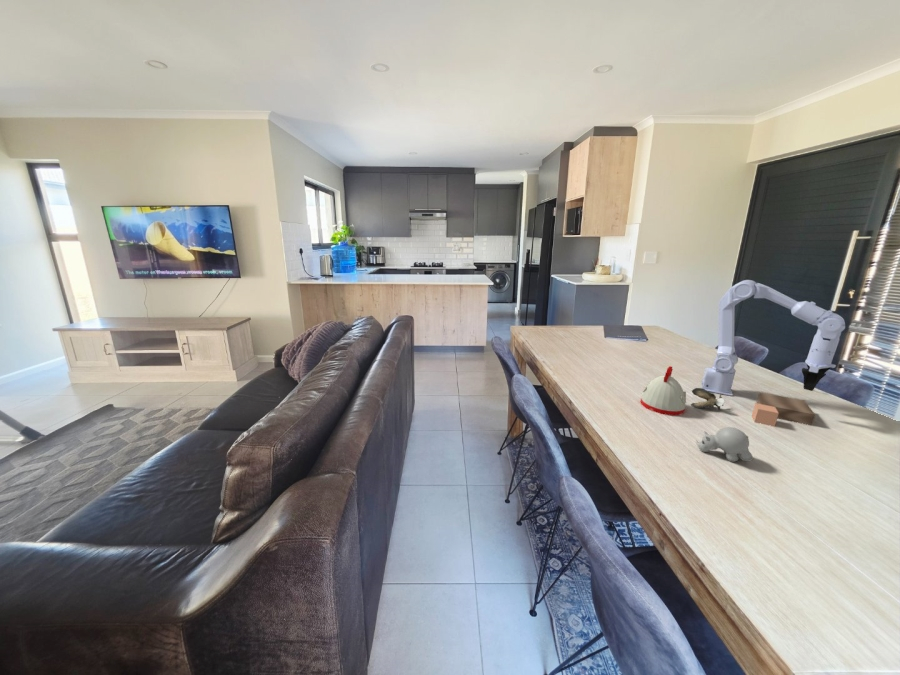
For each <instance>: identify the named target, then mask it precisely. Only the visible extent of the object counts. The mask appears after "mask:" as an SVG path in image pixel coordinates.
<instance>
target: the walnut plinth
mask: <svg viewBox="0 0 900 675" xmlns="http://www.w3.org/2000/svg"><path fill="white" fill-rule="evenodd" d="M756 403H758V404H763V405H768V406H773V407H775V408H776V410H777V411H778V413H779V414H778V417H777V419H778V418H779V419H778V420H784V421H789V422H792V421H794V423H797V422H798V424H802V423H803V424H802V425H807V424H808V425H807V426H813V423H814V420H815V418H816V413H815V412H814V411H813V410H812V409H811V407H810V406H809V404H808V403H807V402H806V401H805V400H803V399H798V398H792V397H788V396H783V395H781V396H780V395H777V394H771V393H766V392H758V397H757V400H756Z"/></svg>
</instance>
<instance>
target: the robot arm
mask: <svg viewBox="0 0 900 675" xmlns="http://www.w3.org/2000/svg"><path fill="white" fill-rule="evenodd" d="M752 296H753V299H766V300H768V301H771V302H773V303H775V304H777V305H779V306H781V307H784V308H786V309H788V310H790V312H791V315H792V316H793V317H795V318H797V319H799V320H801V321H803V322H806V323H807V324H809V325H812V326H816V327H817V330H816V333H815V334H814V336H813V339H812V343H811V344H810V347H809V352H808V354H807V357H806V359H805V361H804V362H805V364H806V366H807V368H805V367H802V368H801V373H802V375H803V390H806V391H810V392H813V391H814V390H815V388H816V386H817V385H818V383H819V382H820V380H822V378H824V377H825V376H827V372H828V371H829V370H830V369H831V368H832V369H834V368H836V366H837V365H836V364H833V363H832V362H833V358H834V356H835V353H836V351H837V347H838V345H839V342H840V339H841V338H840V337H841V335H842V332H843V331H844V330H845V329H846V322H845V319H844V318H843V317H842V316H841V315H839V314H838V313H834V311H832V310H831V309H830V310H827V309H824V308H822V307H820V306H818V305H816V304H817V303H816V302H814V301H810V302H809V301H807V300H804V301H798V300H795V299H793V298H792V297H790V296H788V295H786V294H783V293H782V292H780V291H778V290H776V289H774V288H772V287H770V286H768V285H765V284H762V283H759V282H756V281H755V280H751V279H745V280H741V281H740V282H737V283H736V284H734V285H733V286H731V287H730V288H728V290H727V291H726V292H725V294H724V295H723V296H722V297H721V298H720V300H718V325H717V326H718V330H717V331H718V340H717V341H718V345H717V352H716V357H715V359H714V361H713V366H712V367H708V366H707V367H705V368H704V372H703V378H702V380H701V388H703V389H705V390H706V391H708V392H710V393H714V394H715V393H716V394H719V395H720V394H721V395H726V396H730V397H731V396H734V395H733V391H732V386H733V383H734V380H735V375H736V371H737V370H736V369H735V366H736V365H737V363H738V361H739V358H738V355H737V354H736V348H735V306H736V305H738V304H739V303H741V302H742V301H745V300H747V299H749V298H751V297H752Z"/></svg>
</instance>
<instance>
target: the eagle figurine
mask: <svg viewBox="0 0 900 675" xmlns="http://www.w3.org/2000/svg"><path fill="white" fill-rule="evenodd" d="M691 392H692V394H693V395H695V396H696V397H698V398H701V399H703V400H705V401H698V402H692V403H691V404H690V406H691V407H694V408H695V409H705V408H710V409H711V408H713V407H717V409H718V410H721V406H722V407H724V404H725V403H726V400H725V399H724V398H723V397H722V394H720V393H719V396H718V397H719V398H717V396H716V395H715V393H714V392H709V391H706V390H705V389H703V388H702V387H695V388H692V390H691ZM716 398H717V399H716Z"/></svg>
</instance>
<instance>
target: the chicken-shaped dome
mask: <svg viewBox="0 0 900 675" xmlns="http://www.w3.org/2000/svg"><path fill="white" fill-rule="evenodd" d="M672 372H673V366H671V365H670V366H668V367H667V368H666V372H665V375H664V374H663V375H659V376H657V377H655V378H653V379H652V380H651V381H648V382H647V383H646V384H645V386H644V387H643V388H644V389H643V390H642V394H641V396H640V400H639V403H640V404H641V405H642V406H643V408H645V409H647V410H649V411H652V412H654V413H657V414H659V415H665V416H666V415H667V416H680V415H683V414H684V413H685V411H686V403H687V391H686V390H684V389H683V387H682V385H681V384H680V383H679V381H678V380H677V379H675V378H674V376H673V377H672V374H673V373H672Z"/></svg>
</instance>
